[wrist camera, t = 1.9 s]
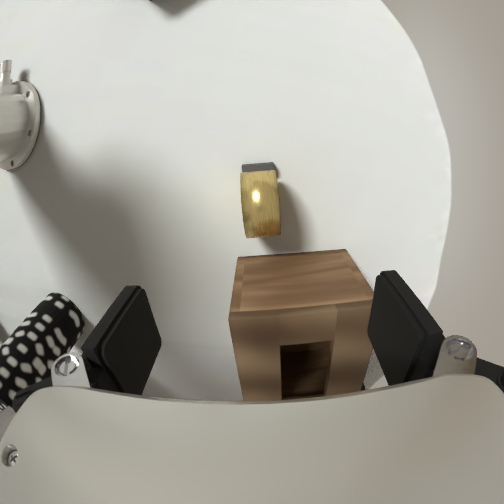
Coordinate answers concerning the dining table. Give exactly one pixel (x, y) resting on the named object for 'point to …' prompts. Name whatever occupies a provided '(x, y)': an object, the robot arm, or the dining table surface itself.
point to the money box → (300, 325)
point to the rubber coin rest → (257, 167)
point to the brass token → (260, 204)
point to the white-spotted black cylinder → (38, 345)
